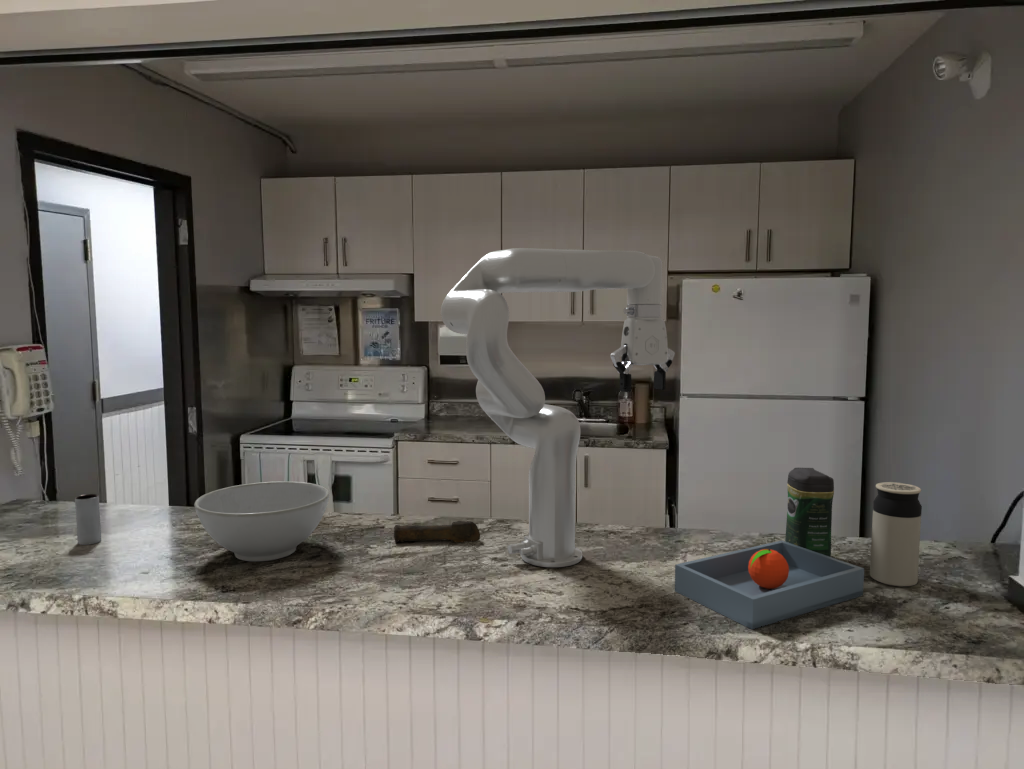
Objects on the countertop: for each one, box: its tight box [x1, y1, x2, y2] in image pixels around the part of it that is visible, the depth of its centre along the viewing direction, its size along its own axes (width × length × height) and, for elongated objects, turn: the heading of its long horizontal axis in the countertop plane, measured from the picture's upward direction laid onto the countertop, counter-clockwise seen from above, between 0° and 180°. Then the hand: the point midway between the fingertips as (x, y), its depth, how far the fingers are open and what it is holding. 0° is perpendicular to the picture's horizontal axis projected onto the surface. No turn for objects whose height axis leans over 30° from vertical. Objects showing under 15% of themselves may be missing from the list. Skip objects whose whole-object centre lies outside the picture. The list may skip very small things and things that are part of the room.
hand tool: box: [393, 520, 481, 544], centre depth 156 cm, size 19×4×5 cm, turn 89°
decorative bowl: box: [193, 480, 330, 562], centre depth 149 cm, size 27×27×12 cm
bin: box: [674, 540, 865, 630], centre depth 127 cm, size 28×18×5 cm, turn 119°
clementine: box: [748, 549, 789, 589], centre depth 127 cm, size 8×7×7 cm
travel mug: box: [869, 481, 922, 588], centre depth 133 cm, size 8×8×18 cm
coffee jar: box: [784, 467, 835, 557], centre depth 145 cm, size 10×8×19 cm
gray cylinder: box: [74, 493, 102, 546], centre depth 156 cm, size 4×4×10 cm
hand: (642, 390), depth 157 cm, fingers open, 9 cm apart
